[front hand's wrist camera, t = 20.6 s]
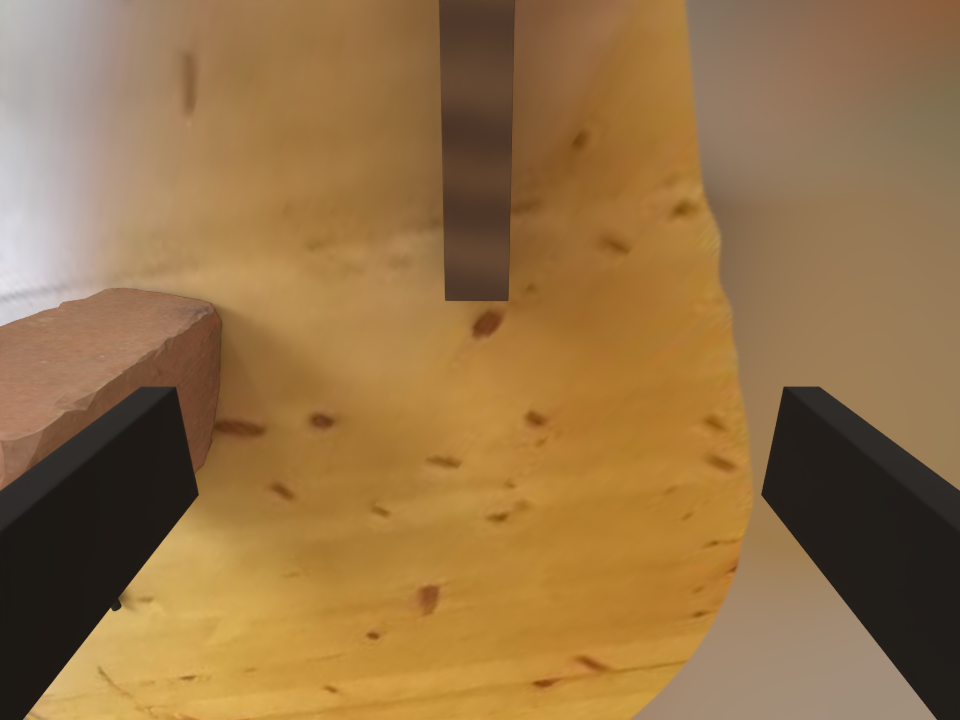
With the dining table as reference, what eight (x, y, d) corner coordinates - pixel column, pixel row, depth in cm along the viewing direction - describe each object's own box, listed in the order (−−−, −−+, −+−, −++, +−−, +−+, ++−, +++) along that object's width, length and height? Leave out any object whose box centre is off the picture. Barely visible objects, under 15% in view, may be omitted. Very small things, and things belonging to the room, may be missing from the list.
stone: (221, 498, 61) (23, 758, 34) (112, 481, 60) (-177, 734, 34) (230, 301, 54) (-9, 437, 27) (107, 280, 53) (-261, 398, 27)
